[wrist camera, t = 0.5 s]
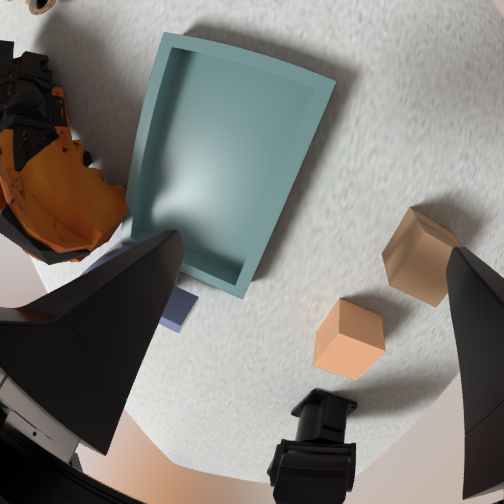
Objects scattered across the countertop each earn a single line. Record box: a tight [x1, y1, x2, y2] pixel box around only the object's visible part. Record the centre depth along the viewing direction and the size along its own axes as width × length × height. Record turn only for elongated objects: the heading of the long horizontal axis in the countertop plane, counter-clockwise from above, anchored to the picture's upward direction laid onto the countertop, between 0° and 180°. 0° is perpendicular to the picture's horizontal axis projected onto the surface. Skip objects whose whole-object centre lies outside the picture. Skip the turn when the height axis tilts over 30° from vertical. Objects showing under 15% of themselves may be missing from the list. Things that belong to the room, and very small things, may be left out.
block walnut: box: [382, 207, 463, 307], centre depth 20 cm, size 4×4×4 cm
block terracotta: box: [313, 298, 385, 380], centre depth 25 cm, size 4×4×4 cm
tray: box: [120, 32, 337, 299], centre depth 22 cm, size 18×12×2 cm, turn 160°
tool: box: [0, 40, 129, 265], centre depth 20 cm, size 8×23×15 cm, turn 33°
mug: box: [81, 241, 199, 333], centre depth 26 cm, size 7×10×7 cm
